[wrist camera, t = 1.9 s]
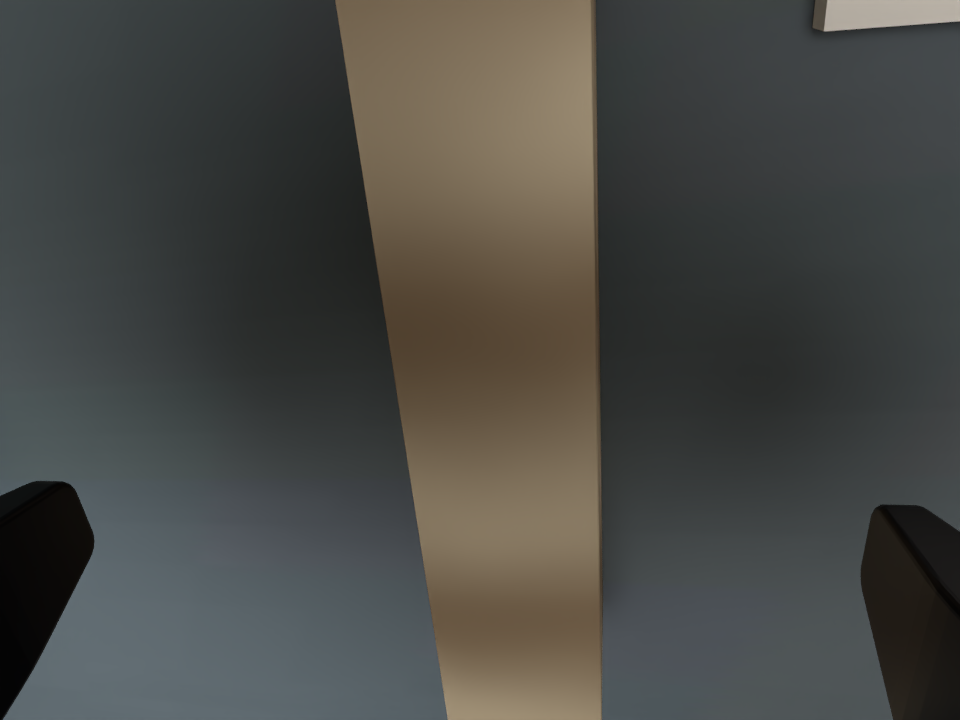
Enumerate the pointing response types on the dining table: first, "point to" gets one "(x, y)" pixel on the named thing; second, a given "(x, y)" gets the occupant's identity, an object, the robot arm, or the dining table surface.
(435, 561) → the rail
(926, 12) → the notched cream block
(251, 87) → the dining table surface
